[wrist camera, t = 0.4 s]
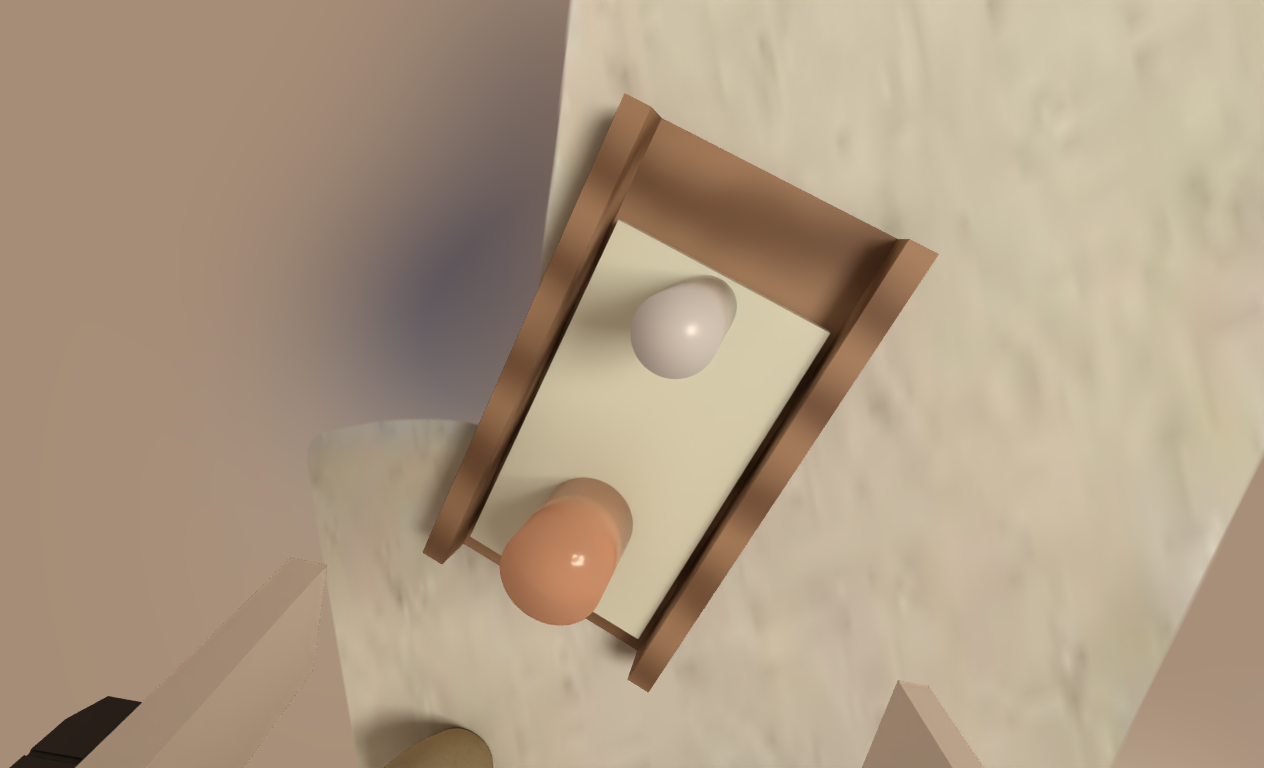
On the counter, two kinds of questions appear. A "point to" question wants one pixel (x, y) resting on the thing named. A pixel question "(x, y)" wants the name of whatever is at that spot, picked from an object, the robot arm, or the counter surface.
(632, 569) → the cream flat panel
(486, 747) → the flower pot
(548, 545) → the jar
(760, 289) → the tray
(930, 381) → the counter surface
